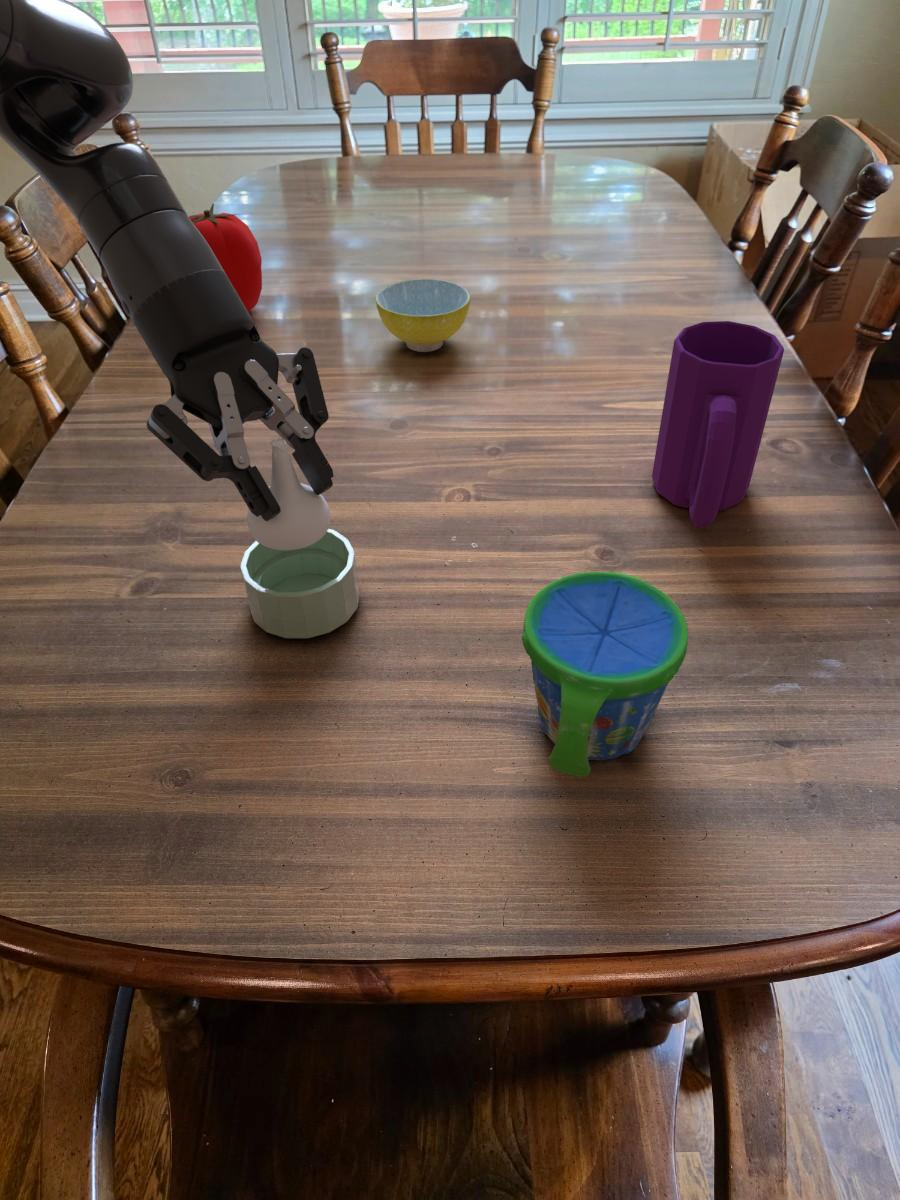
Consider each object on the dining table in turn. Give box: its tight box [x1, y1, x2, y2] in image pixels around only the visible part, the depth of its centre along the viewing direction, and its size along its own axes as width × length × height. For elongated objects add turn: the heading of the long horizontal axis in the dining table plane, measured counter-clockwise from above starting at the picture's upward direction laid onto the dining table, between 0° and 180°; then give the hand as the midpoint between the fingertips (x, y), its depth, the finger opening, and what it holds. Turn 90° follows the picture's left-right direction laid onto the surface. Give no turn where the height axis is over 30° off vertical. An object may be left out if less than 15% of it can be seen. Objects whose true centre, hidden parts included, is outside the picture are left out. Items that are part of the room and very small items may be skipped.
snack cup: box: [521, 571, 689, 777], centre depth 59 cm, size 16×10×10 cm
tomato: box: [188, 203, 263, 313], centre depth 113 cm, size 12×12×13 cm
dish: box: [239, 528, 361, 639], centre depth 71 cm, size 9×9×5 cm
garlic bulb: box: [246, 438, 331, 550], centre depth 65 cm, size 6×6×8 cm
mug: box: [651, 320, 785, 529], centre depth 77 cm, size 9×16×15 cm, turn 167°
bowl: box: [375, 278, 471, 353], centre depth 107 cm, size 11×12×6 cm
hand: (299, 502), depth 64 cm, fingers closed on garlic bulb, 4 cm apart
